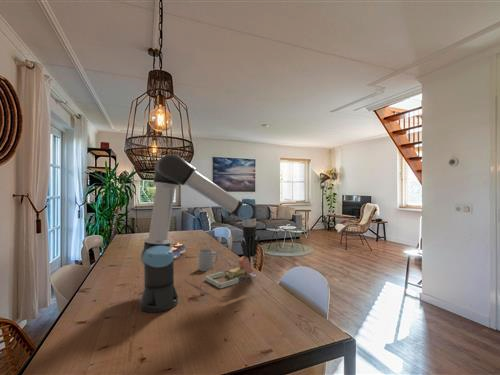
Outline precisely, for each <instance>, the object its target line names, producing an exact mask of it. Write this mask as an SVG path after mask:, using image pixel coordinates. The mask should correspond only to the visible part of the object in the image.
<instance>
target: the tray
mask: <svg viewBox="0 0 500 375" xmlns="http://www.w3.org/2000/svg"><path fill="white" fill-rule="evenodd" d="M224 273H225V272H224V271H218V272H217V273H212V274H208V275H205V276H204V278H205V279H204V280H205V281H206V283H207V282H208V283H209V284H210V285H213V286H214V287H216V288H218V289H223V288H227V287H230V286H232V285H236V284H238V283H239V282H240V281H239V278H237V279H233V280H231V279H229V280H227V281H224V282H220V281H218V280H215V279H217V278H221V277H225V274H224Z"/></svg>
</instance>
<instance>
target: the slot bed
mask: <svg viewBox="0 0 500 375" xmlns="http://www.w3.org/2000/svg"><path fill="white" fill-rule="evenodd" d="M257 276H258V275H257V274H254V273H253V272H252V273H250V274H249V275H248V274H243V275H240V276H236V277H233V279H237V278H239V282H240V281H243V280H247V279H250V278H254V277H257ZM224 277H225V278H227V279H229V280H232V279H230V278H229V273H228V272H226V273H225V274H224Z"/></svg>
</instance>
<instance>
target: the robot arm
mask: <svg viewBox="0 0 500 375" xmlns="http://www.w3.org/2000/svg"><path fill="white" fill-rule="evenodd" d="M153 184H154V185H155V186H156V187H155V194H154V199H153V207H152V213H151V219H150V226H149V231H148V232H149V234H148V237H147V238H146V239H144V241H143V242H144V244H143V248H142V252H141V254H140V255H141V256H140V259H141V263H142V265H143V272H144V276H143V277H144V279H143V280H144V289H143V292H142V294H141V297H140V301H139V309H140V310H141V311H142V310H143V311H142V312H144V311H145V313H149V312H150V313H152V314H153V313H162V312H166V311H168V310H171V309H173V308H174V307H176V306H177V305H178V304H179V295H178V292H177V290H176V287H175V284H174V283H175V280H174V276H175V275H174V273H175V272H174V262H175V261H174V258H175V254H174V250H173V248H172V247H171V240H170V239H169V235H170V233H169V232H170V225H171V220H172V219H171V218H172V212H173V206H174V199H175V198H174V197H175V190H176V189H177V188H178V187H179V186H180V185H182V186H188V187H189V188H190V189H192V191H195V192H197V193H198V194H200V195H202V197H205V198H206V199H208V200H210V201H211V202H213V204H216V205H217V206H219V207H220V213H221V215H222V217H223V218H235V219H238V220H241V222H242V234H243V236H242V239H239V242H240V246H241V249H242V253H243V256H245V257H248V259H249V262H250V265H251V268H252V270H253V269H254V257H255V255H257V253H258V252H257V251H258V246H259V245H258V244H259V241H260V237H259V236H257V234H256V233H257V226H256V225H257V210H256V209H257V206H256V198H253V197H250V198H249V197H246V198H245V197H244V198H241V200H240V199H238V198H236V197H235V196H233V195H232V194H230V193H229V192H228V191H226V190H224V189H223V188H222V187H220V186H218V184H216V183H214V182H212V181H211V180H210V179H208V178H207V177H205V176H204V175H202V174H201V173H200V172H198V171H197V170H196V167H195V166H193V165H192V164H190V163H189V162H188V161H186V160H185V159H184V158H182V157H181V156H179V155H177V154H171V153H169V154H166V155H163V156H162V157H161V158H160V159H158V160H157V161H156V163H155V164H154V177H153Z"/></svg>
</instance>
